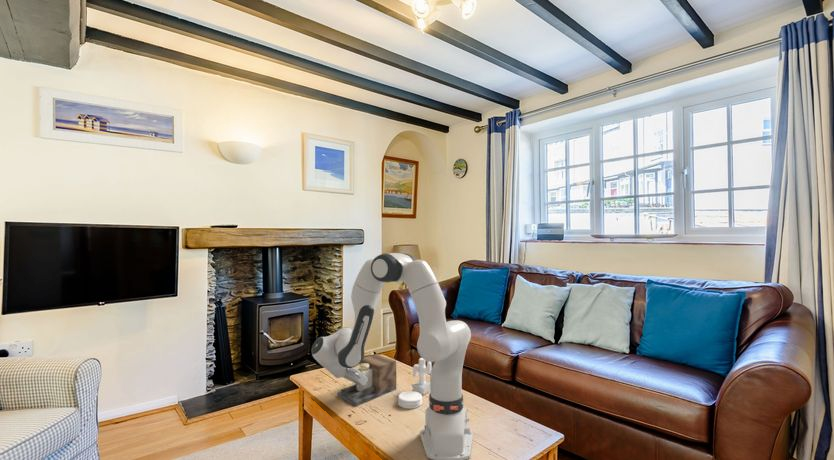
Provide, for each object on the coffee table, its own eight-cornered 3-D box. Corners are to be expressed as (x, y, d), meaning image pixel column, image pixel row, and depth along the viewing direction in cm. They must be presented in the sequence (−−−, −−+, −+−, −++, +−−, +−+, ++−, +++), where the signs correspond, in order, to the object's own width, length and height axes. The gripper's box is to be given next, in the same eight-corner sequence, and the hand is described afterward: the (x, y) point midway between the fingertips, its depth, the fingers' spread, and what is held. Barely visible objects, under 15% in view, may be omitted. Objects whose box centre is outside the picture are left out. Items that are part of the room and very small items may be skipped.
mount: (356, 406, 155) (356, 374, 155) (337, 396, 165) (336, 366, 165) (396, 389, 171) (396, 360, 171) (376, 380, 181) (376, 353, 181)
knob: (363, 393, 163) (363, 367, 163) (356, 389, 167) (356, 365, 167) (372, 389, 167) (372, 364, 167) (365, 386, 170) (365, 362, 170)
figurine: (418, 386, 173) (418, 354, 173) (435, 391, 168) (435, 358, 168) (409, 392, 168) (408, 358, 168) (426, 397, 162) (425, 362, 162)
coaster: (423, 399, 161) (423, 390, 161) (420, 410, 151) (420, 401, 151) (400, 398, 162) (400, 390, 162) (396, 409, 152) (396, 400, 152)
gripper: (359, 365, 152) (378, 382, 159) (331, 354, 166) (349, 370, 173) (350, 379, 148) (369, 396, 155) (322, 366, 163) (341, 383, 170)
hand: (358, 382), depth 164 cm, fingers closed, pressing on knob
